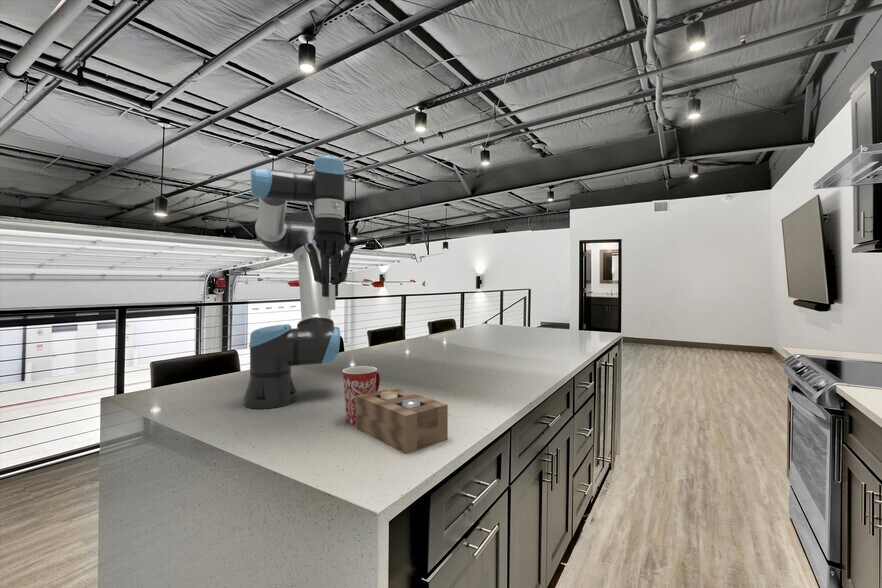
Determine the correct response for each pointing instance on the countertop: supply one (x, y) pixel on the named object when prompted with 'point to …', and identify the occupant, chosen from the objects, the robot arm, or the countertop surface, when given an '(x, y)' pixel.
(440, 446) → the countertop surface
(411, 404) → the steel peg
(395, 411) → the socket block
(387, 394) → the beech peg
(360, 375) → the mug
